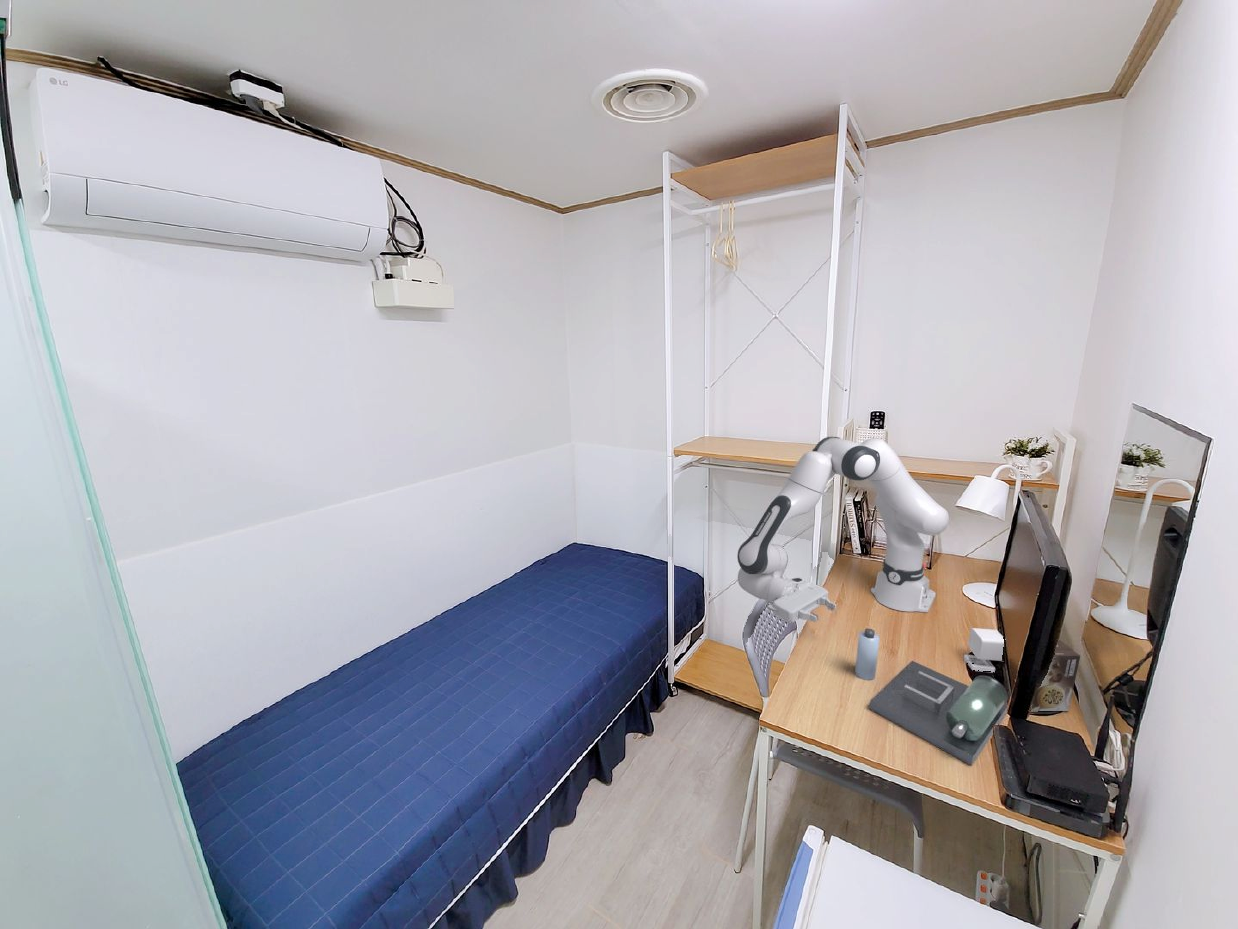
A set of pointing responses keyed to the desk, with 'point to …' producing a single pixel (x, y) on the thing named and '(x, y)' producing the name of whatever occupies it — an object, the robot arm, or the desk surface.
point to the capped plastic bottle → (867, 654)
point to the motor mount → (943, 709)
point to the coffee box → (1058, 681)
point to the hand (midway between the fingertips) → (826, 613)
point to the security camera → (984, 649)
